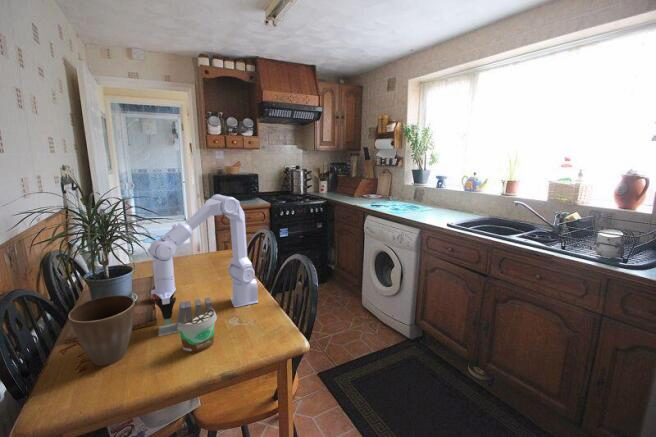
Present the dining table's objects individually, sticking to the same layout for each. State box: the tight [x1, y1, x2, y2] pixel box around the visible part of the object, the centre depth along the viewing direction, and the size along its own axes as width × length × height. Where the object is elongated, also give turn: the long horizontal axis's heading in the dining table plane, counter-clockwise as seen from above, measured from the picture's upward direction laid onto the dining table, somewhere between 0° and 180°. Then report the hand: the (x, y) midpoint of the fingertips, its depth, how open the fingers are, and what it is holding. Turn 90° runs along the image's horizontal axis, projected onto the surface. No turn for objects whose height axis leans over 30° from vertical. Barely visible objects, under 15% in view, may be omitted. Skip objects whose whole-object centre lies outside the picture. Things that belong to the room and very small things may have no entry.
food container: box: [177, 307, 218, 354], centre depth 95 cm, size 12×6×10 cm, turn 148°
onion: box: [151, 285, 159, 300], centre depth 124 cm, size 6×6×8 cm
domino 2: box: [176, 301, 186, 331], centre depth 106 cm, size 2×4×8 cm, turn 28°
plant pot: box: [68, 294, 135, 367], centre depth 88 cm, size 15×15×16 cm
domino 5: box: [204, 297, 213, 313], centre depth 110 cm, size 2×4×8 cm, turn 28°
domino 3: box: [184, 300, 193, 322], centre depth 107 cm, size 2×4×8 cm, turn 28°
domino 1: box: [164, 318, 172, 326], centre depth 103 cm, size 2×4×8 cm, turn 27°
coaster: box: [158, 322, 180, 337], centre depth 105 cm, size 6×6×1 cm
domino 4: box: [194, 298, 203, 316], centre depth 108 cm, size 2×4×8 cm, turn 27°
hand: (167, 314), depth 104 cm, fingers closed on domino 1, 4 cm apart
